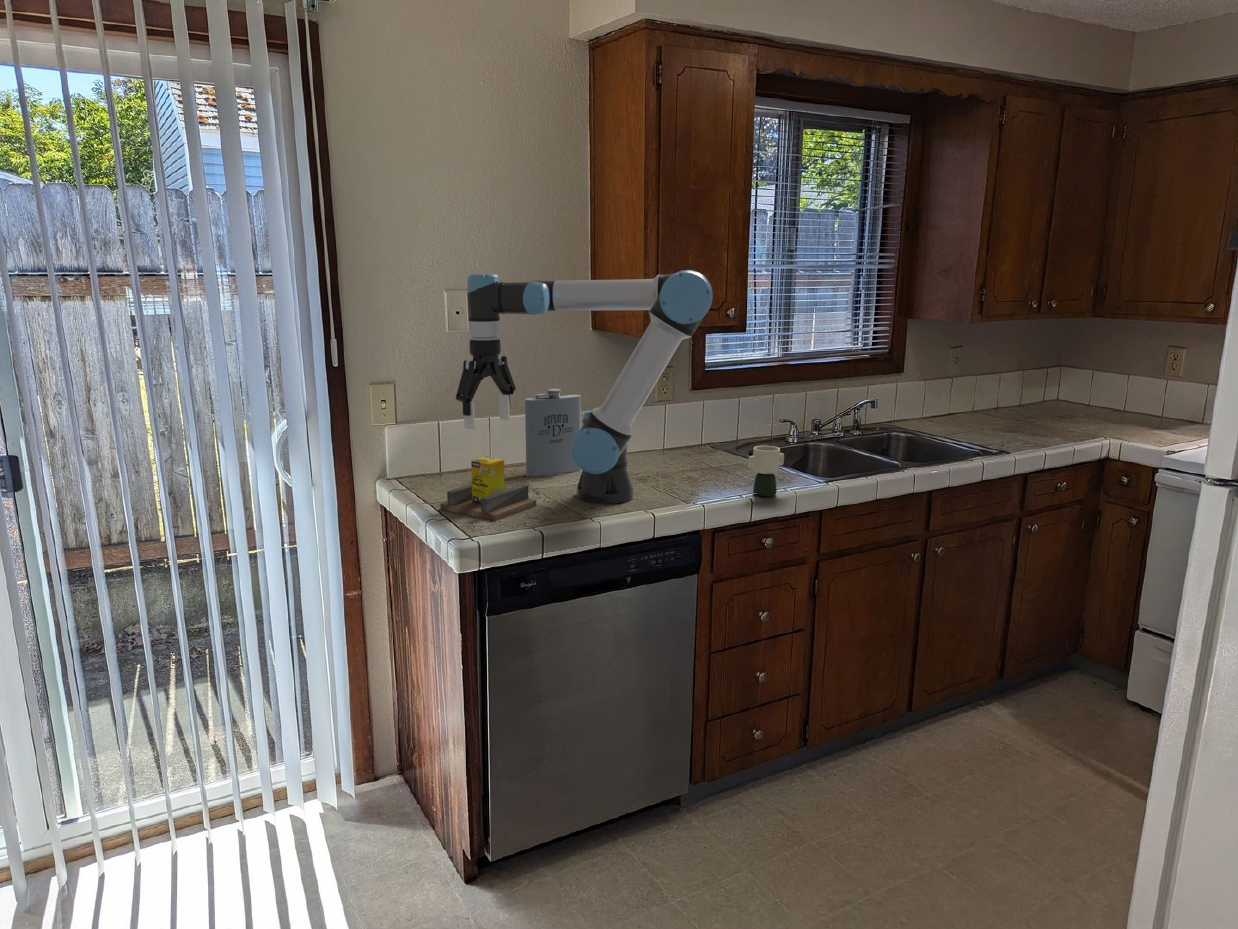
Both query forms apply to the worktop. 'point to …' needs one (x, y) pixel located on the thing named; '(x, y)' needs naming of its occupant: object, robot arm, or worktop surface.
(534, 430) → the flask
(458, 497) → the slot rack
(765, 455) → the character mug
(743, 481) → the worktop surface
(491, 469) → the supplement box
